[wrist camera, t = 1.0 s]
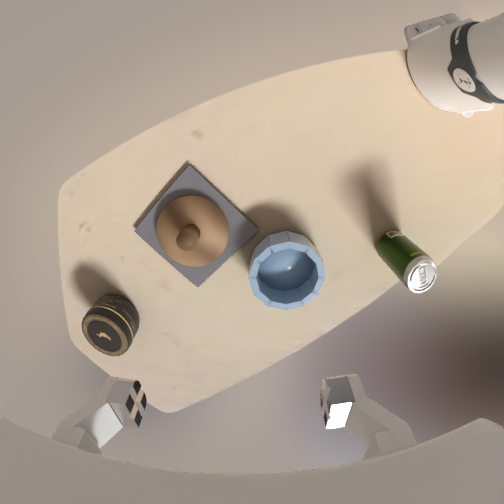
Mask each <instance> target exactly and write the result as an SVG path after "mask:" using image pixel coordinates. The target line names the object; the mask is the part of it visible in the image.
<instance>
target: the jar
mask: <svg viewBox="0 0 504 504" xmlns="http://www.w3.org/2000/svg"><path fill="white" fill-rule="evenodd" d="M138 328H139V315H138V313H137V310H136V309H135V307H134V306H133V305H132V304H131V303H130V302H129V301H128V300H127V299H125V298H124V297H121V296H118V295H113V294H110V295H106V296H104V297H102V298H100V299H99V300H98V301H97V302H96V303H95V304H94V306H93V307H92V308H91V309H90V310H89V311H88V312H87V314H86V315H85V317H84V318H83V321H82V331H83V333H84V336H85V337H86V339H87V340H88V342H89V343H90V344H91V345H92V346H93V347H94V348H95V349H97V350H98V351H100V352H102V353H104V354H106V355H110V356H120V355H122V354H124V353H125V352H126V351H127V350H128V348H129V347H130V345H131V344H132V341H133V339H134V337H135V335H136V333H137V331H138Z"/></svg>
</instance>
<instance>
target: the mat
mask: <svg viewBox="0 0 504 504" xmlns="http://www.w3.org/2000/svg"><path fill="white" fill-rule="evenodd" d="M186 195H198V196H202V197H205V198H207V199H209V200H211V201H213V202H214V203H215V204H216V205H218V206H219V208H220V209H221V210H222V211H223V213H224V215H225V216H226V219H227V222H228V226H229V236H228V241H227V244H226V247H225V249H224V251H223V252H222V254H221V255H220V256H219V257H218V258H217V259H216V260H215V261H213V262H211V263H209V264H207V265H204V266H198V267H192V266H185V265H182V264H180V263H178V262H176V261H174V260H173V259H171V258H170V257H169V256H168V255H167V254H166V253H165V252H164V251H163V249H162V247H161V246H160V243H159V241H158V238H157V221H158V218H159V216H160V214H161V212H162V210H163V209H164V208H165V207H166V206H167V205H168V204H169V203H170V202H172V201H173V200H175V199H177V198H179V197H181V196H186ZM257 231H258V228H257V227H256V226H255V225H254V224H253V223H252V222H251V221H250V220H249V219H248V218H247V217H246V216H245V215H243V214H242V213H241V212H240V211H239V210H238V209H237V208H236V207H235V206H234V205H233V204H232V203H231V202H230V201H229V200H228V199H227V198H226V197H225V196H223V195H222V194H221V193H220V192H219V191H218V190H217V189H216V188H215V187H214V186H213V185H212V184H211V183H210V182H209V181H208V180H206V179H205V178H204V177H203V176H202V175H201V174H200V173H199V172H198V171H197V170H196V169H195V168H194V167H193V166H191V165H189V166H188V167H187V168H186V170H185V171H184V172H183V173H182V174H181V175H180V176H179V177H178V179H177V180H176V181H175V182H174V183H173V184H172V185H171V187H170V188H169V189H168V190H167V191H166V192H165V194H164V195H163V196H162V197H161V198H160V200H159V201H158V202H157V203H156V204H155V206H154V207H153V208H152V209H151V211H150V212H149V213H148V214H147V216H146V217H145V218H144V219H143V221H142V222H141V223H140V224H139V226H138V227H137V228H136V229H135V232H136V233H137V234H138V235H139V236H140V237H141V238H142V239H143V240H144V241H145V242H147V243H148V244H149V245H150V246H151V247H152V248H153V249H154V250H155V251H157V252H158V253H159V254H160V255H161V256H162V257H163V258H164V259H166V260H167V261H168V262H169V263H170V264H171V265H172V266H173V267H175V268H176V269H177V270H178V271H179V272H180V273H182V274H183V275H184V276H185V277H186V278H187V279H189V280H190V281H191V282H192V283H193V284H194V285H196V286H197V287H199V286H200V285H201V284H202V283H203V282H204V281H205V280H206V279H207V278H208V277H209V276H211V275H212V274H213V273H214V272H215V271H216V270H217V269H218V268H219V267H220V266H221V265H222V264H223V263H224V262H225V261H226V260H228V259H229V258H230V257H231V256H232V255H233V254H234V253H235V252H236V251H237V250H238V249H239V248H240V247H241V246H242V245H244V244H245V243H246V242H247V241H248V240H249V239H250V238H251V237H252V236H253V235H254V234H255V233H256V232H257Z"/></svg>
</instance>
